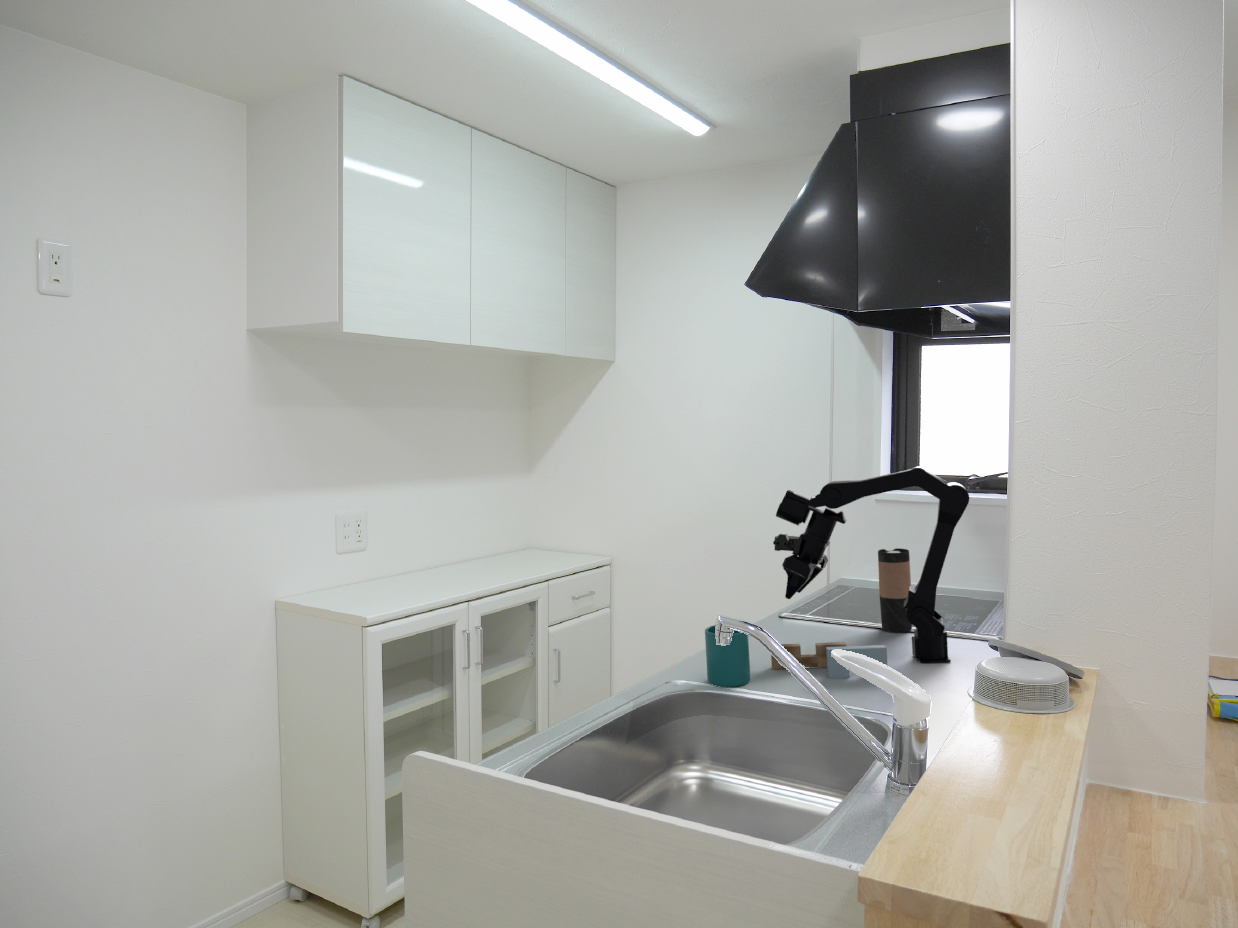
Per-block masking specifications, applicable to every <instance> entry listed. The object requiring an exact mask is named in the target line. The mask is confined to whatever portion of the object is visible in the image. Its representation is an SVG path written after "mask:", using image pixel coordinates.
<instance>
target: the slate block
mask: <svg viewBox="0 0 1238 928" xmlns="http://www.w3.org/2000/svg"><path fill="white" fill-rule="evenodd" d="M833 649H842V650H846V651H852V652H855V653H859V654H863V655H866V656H867V657H870V658H873V659H875V660H878V661H879V662H882V663H883V664H886V665H887V666H888V654H887V653H888V652H887V647H886V645H885V644H876V645H872V644H871V645H848V646H847V645H846V646H843V647H826V653H827V668H826V670H827V671H826V672H827V677H828V678H829V679H836V678H837V679H838V678H839V679H840V678H850V677H851V675H850V671H849V670H850V669H849V670H847V669H846V668H845V667H843V666H842V665H840V664H839V663H837V661H836V660H835V659H834V658H833V657H831V651H832V650H833Z"/></svg>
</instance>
